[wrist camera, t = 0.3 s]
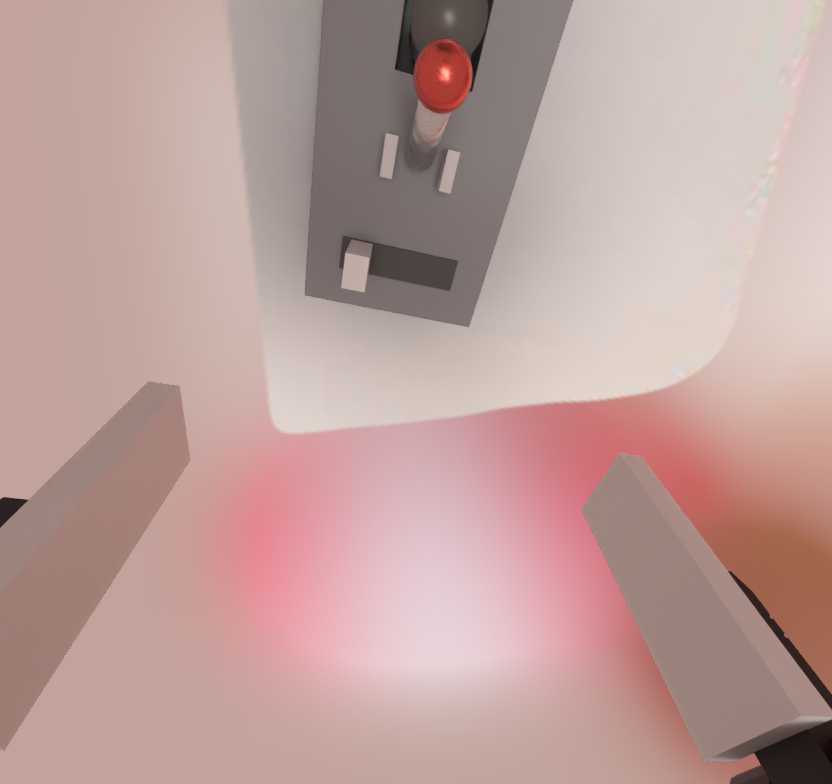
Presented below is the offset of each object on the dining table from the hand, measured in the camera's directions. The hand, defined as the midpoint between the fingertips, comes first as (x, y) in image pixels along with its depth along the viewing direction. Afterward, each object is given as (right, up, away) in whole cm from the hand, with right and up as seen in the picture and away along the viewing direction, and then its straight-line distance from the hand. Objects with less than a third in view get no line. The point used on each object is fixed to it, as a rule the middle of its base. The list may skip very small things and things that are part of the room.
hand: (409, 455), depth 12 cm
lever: (0, +17, +14) cm, 22 cm away
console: (+1, +23, +17) cm, 29 cm away
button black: (+2, +25, +13) cm, 28 cm away
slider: (-4, +12, +17) cm, 22 cm away
